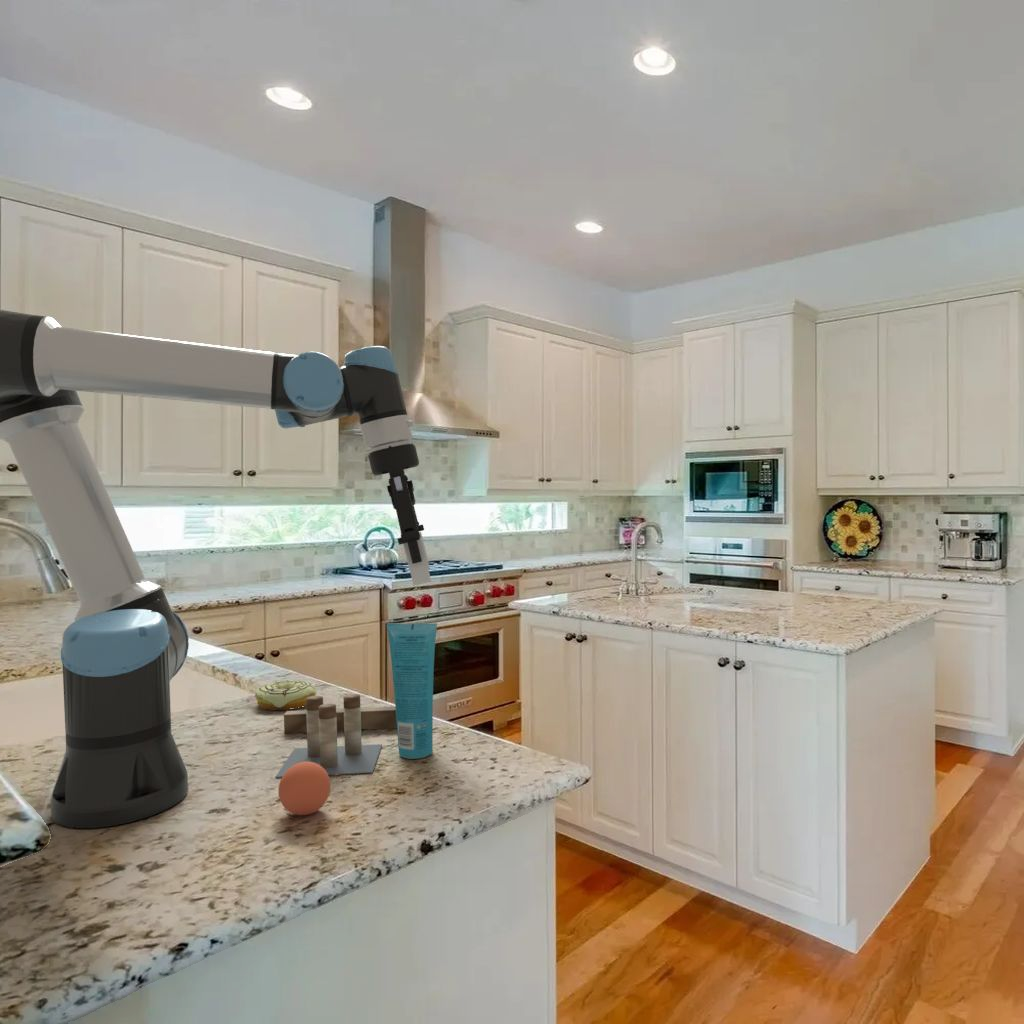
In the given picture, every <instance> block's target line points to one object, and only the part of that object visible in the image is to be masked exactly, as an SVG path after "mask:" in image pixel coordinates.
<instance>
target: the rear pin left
mask: <svg viewBox="0 0 1024 1024" xmlns="http://www.w3.org/2000/svg"><path fill="white" fill-rule="evenodd" d="M342 700H343V709H344V731H343V732H344V746H345V754H346V755H358V754H360V753H361V752H362V745H363V744H362V730H361V708H362V707H361V695H360V694H357V693H356V694H355V693H354V694H351V693H350V694H346V695H343V699H342Z"/></svg>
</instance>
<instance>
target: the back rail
mask: <svg viewBox="0 0 1024 1024" xmlns="http://www.w3.org/2000/svg"><path fill="white" fill-rule="evenodd" d="M360 708H361V731H364V730H365V729H368V730H383V729H384V730H385V729H386V730H387V729H391V730H392V729H397V721H396V708H395V706H377V707H374V706H372V707H360ZM336 719H337V730H344V708H336ZM283 728H284V729H283V732H284V733H283V734H297V733H300V732H301V733H307V715H306V709H305V710H303V709H302V710H286V711H285V713H284V714H283ZM362 729H364V730H362Z"/></svg>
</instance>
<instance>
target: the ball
mask: <svg viewBox="0 0 1024 1024" xmlns="http://www.w3.org/2000/svg"><path fill="white" fill-rule="evenodd" d="M331 787H332V786H331V779H330V775H329V776H328V774H327V772H326V771H325V769H324V768H323V767H322V766H320V765H319V764H316V763H314V762H300V763H297V764H295V765H293V766H292V767H290V768H289V769H288V770H287V771H286V772H285V773H284V775H283V776H282V778H280V781H279V785H278V790H277V791H278V798H279V801H280V803H281V805H282V807H284V809H285V810H286V811H288V812H289V813H290V814H293V815H296V816H307V815H310V814H313V813H315V812H317V811H318V810H320V809H321V808H322V807H323V806H324V805H325V804H326V802H327V800H328V799H329V795H330V792H331Z"/></svg>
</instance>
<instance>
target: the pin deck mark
mask: <svg viewBox="0 0 1024 1024" xmlns="http://www.w3.org/2000/svg"><path fill="white" fill-rule="evenodd" d="M382 745H383V744H382V743H381V744H380V743H379V744H362V752H361V753H360V754H358V755H346V754H345V745H340V746H339V745H337V753H338V765H337V766H334V767H331V768H324V769H325V771H326V772H327V774H328V775H329V776H336V775H335V774H349V775H360V774H359V773H370V774H373V773H374V771H373V770H375V768H374V767H376V765H375V764H377V761H378V758H379V755H380V753H381V749H382ZM300 762H314V763H316V764H319V765H320V756H319V757H309V756H308V748H307V747H295V748H294V749H293V750H292V752H291V753H290V755H289V756H288V757H287V759H286V760H285V762H284V763H283V764H282V766H281V768H280V769H279V771H278V772H277V774H276V775H275V777H282V776H283V775H284V773H285V772H286V771H287V770H288V769H289V768H290V767H292V766H293V765H295V764H297V763H300ZM355 773H356V774H355ZM332 774H333V775H332Z"/></svg>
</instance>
